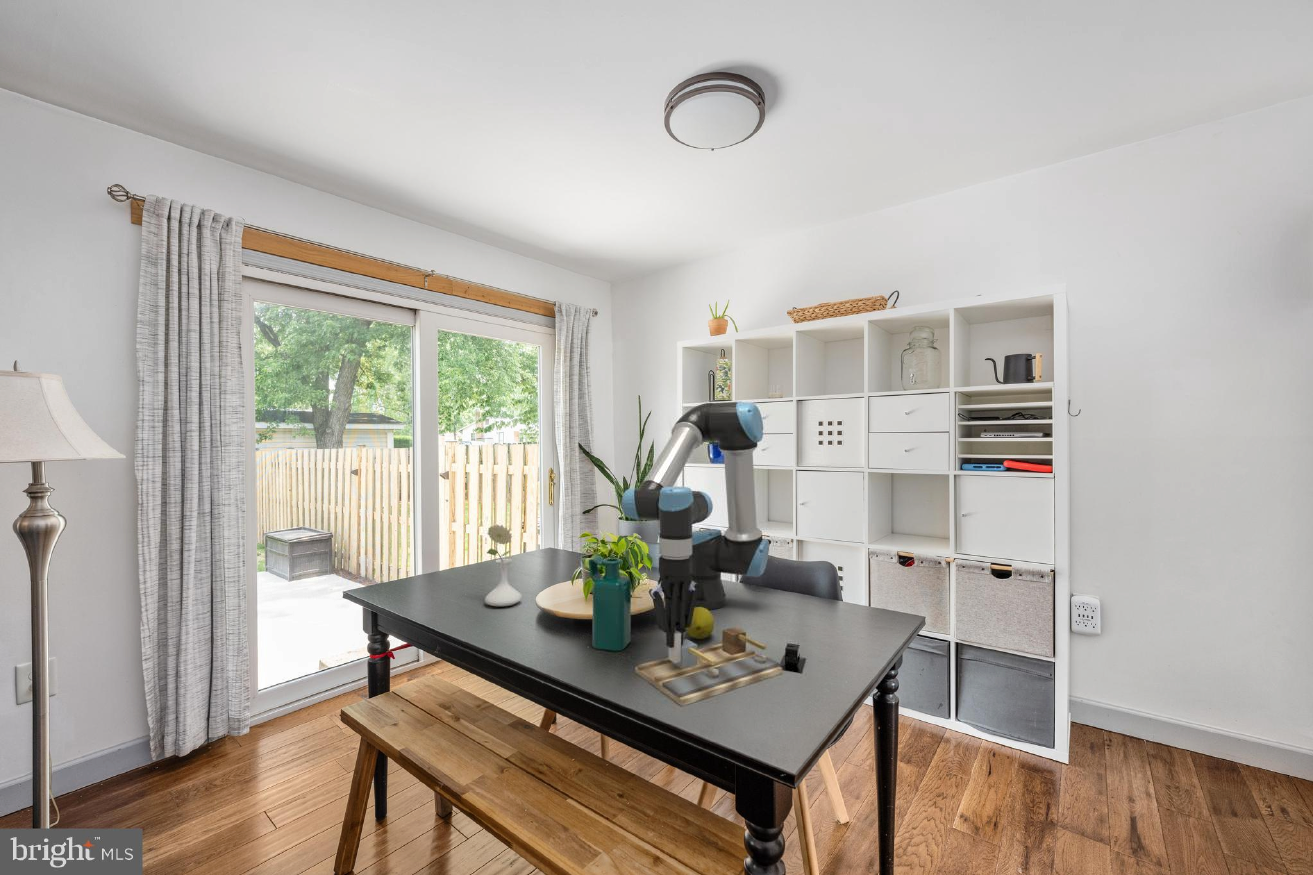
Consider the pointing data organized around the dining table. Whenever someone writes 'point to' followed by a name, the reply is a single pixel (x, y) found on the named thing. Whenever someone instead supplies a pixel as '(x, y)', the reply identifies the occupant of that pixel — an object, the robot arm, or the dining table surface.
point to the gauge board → (706, 692)
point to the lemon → (701, 623)
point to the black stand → (792, 659)
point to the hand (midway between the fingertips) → (674, 660)
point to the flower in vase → (502, 571)
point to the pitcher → (610, 605)
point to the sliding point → (691, 655)
